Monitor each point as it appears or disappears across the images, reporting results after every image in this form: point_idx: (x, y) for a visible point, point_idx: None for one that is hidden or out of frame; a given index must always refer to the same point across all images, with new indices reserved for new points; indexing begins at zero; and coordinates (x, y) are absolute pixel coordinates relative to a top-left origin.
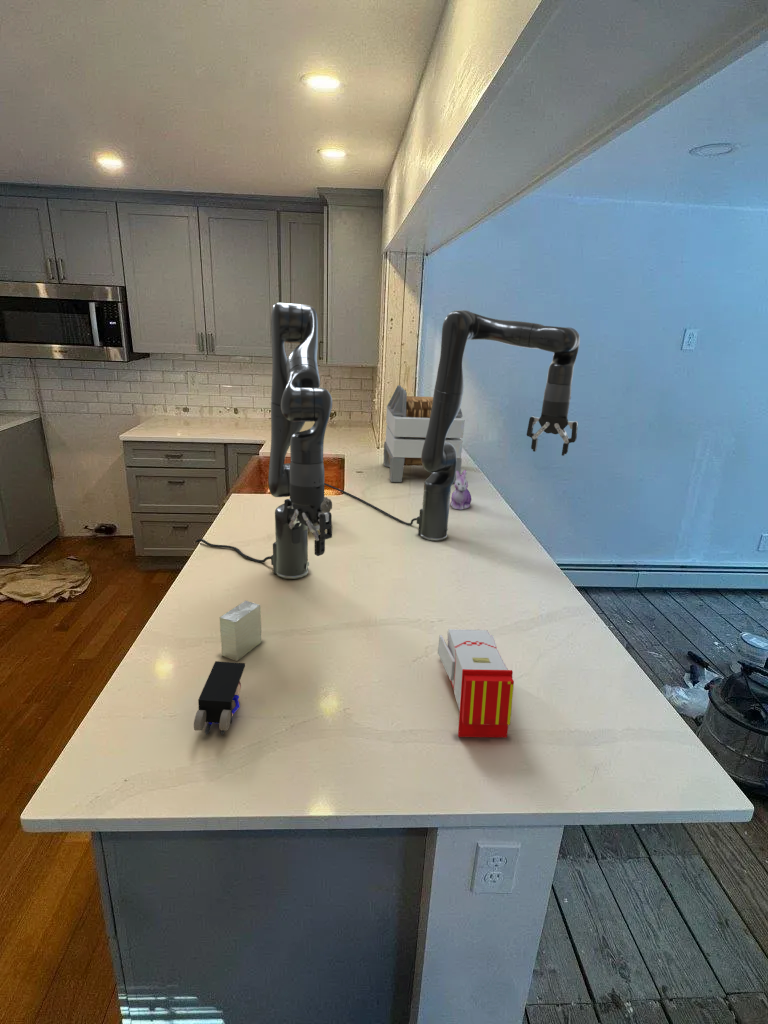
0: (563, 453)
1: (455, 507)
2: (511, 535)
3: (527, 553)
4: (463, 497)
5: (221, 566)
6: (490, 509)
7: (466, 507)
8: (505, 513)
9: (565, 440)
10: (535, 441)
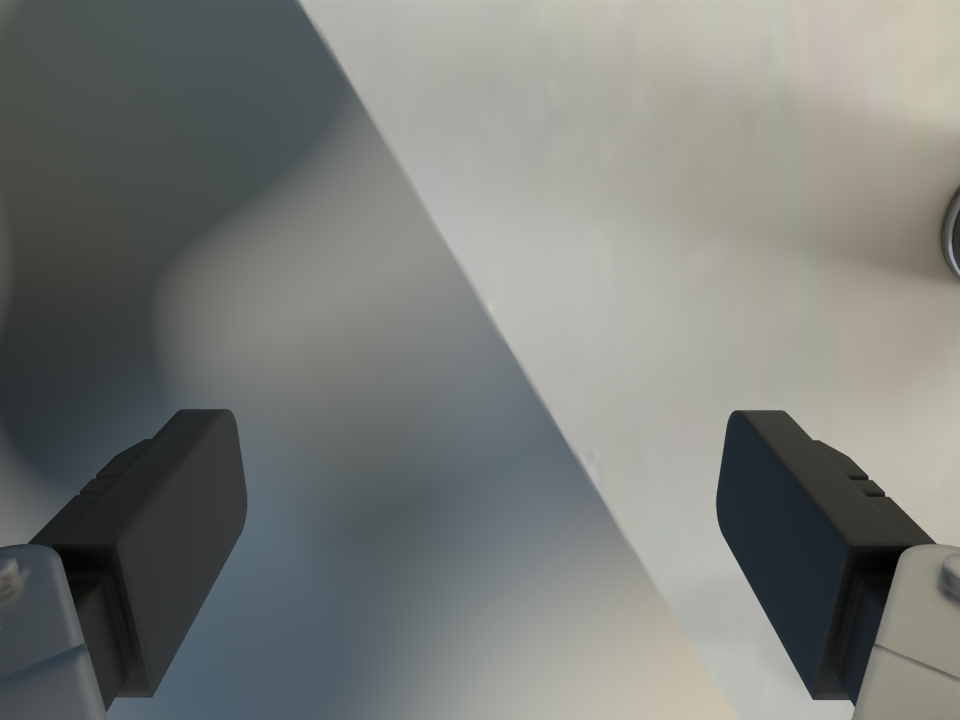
0: (181, 420)
1: None
2: (634, 433)
3: (523, 261)
4: None
5: None
6: (776, 671)
7: None
8: (704, 659)
9: (4, 605)
10: (851, 516)
